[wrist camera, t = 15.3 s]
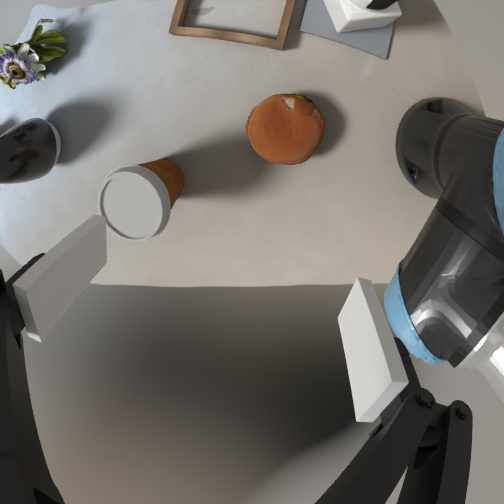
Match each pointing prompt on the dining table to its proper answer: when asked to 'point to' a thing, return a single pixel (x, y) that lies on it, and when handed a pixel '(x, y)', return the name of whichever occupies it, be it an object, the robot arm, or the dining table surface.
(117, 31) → the dining table surface
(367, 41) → the slate mat
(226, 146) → the dining table surface
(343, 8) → the medicine bottle
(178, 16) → the walnut caddy
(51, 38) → the passion flower
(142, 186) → the disposable coffee cup
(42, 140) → the grey egg-shaped container
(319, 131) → the burger
